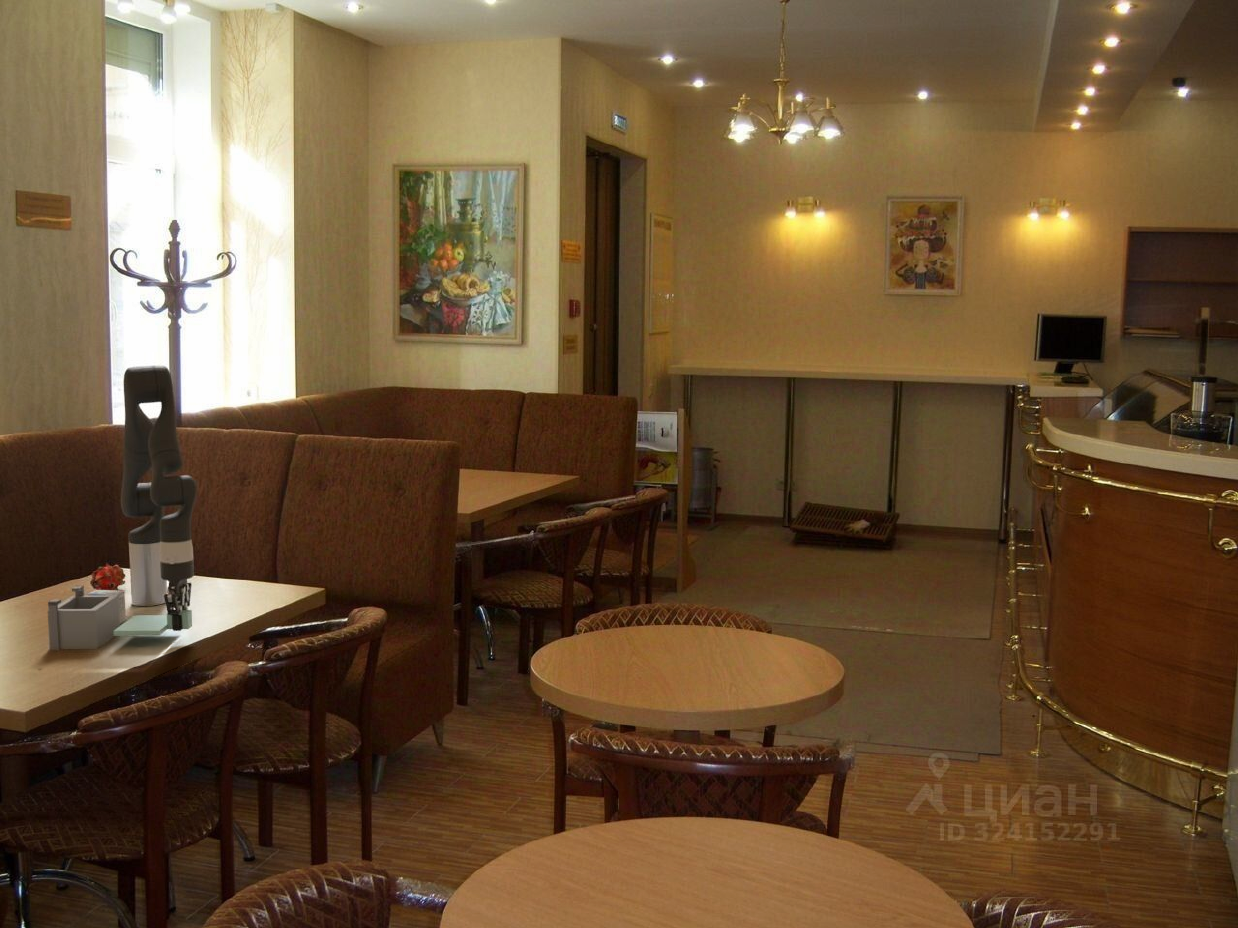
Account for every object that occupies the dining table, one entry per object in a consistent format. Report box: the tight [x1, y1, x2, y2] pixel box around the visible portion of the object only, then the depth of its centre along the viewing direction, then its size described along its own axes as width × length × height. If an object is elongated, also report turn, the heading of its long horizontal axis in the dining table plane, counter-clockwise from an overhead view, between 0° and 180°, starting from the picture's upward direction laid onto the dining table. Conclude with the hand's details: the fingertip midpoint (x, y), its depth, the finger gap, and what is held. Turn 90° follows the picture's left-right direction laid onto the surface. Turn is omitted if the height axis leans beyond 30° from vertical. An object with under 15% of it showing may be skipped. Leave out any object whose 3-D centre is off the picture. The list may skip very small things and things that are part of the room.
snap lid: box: [114, 609, 193, 637], centre depth 290 cm, size 14×16×4 cm
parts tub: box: [47, 585, 121, 651], centre depth 290 cm, size 17×11×12 cm, turn 3°
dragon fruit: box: [89, 563, 126, 590], centre depth 343 cm, size 8×8×12 cm
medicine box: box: [86, 589, 127, 624], centre depth 307 cm, size 8×4×9 cm, turn 84°
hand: (179, 628), depth 291 cm, fingers closed on snap lid, 3 cm apart
